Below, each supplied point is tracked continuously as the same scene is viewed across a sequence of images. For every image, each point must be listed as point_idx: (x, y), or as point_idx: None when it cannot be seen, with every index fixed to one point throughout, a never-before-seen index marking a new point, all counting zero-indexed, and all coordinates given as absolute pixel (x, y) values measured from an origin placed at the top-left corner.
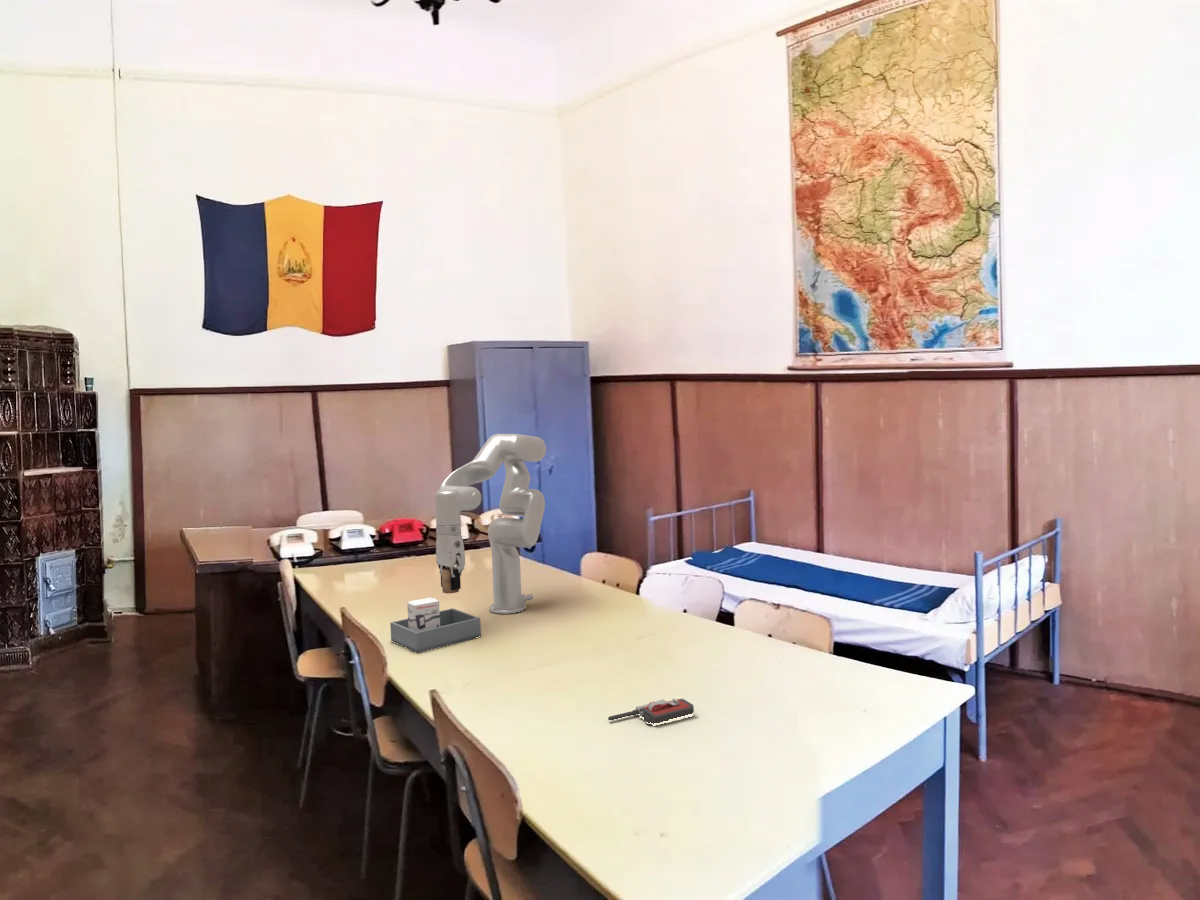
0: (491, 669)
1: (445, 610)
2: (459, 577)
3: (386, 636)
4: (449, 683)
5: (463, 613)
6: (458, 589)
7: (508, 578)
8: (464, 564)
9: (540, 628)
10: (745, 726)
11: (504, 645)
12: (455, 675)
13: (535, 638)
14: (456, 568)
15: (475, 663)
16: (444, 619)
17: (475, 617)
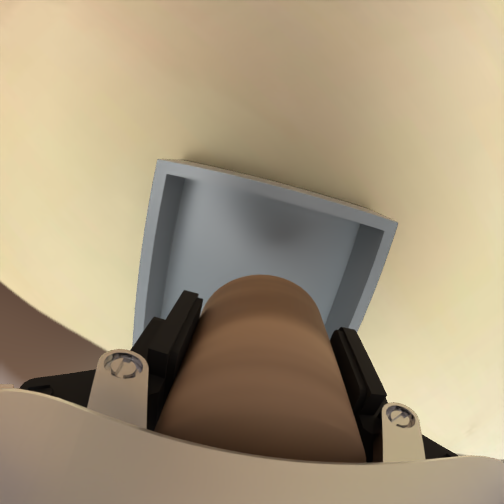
0: (491, 371)
1: (157, 208)
2: (377, 392)
3: (99, 344)
4: (446, 441)
5: (273, 198)
6: (319, 314)
7: None
8: (502, 474)
9: (458, 53)
10: None
11: (470, 241)
12: (444, 423)
13: (500, 147)
14: (317, 438)
15: (457, 372)
16: (170, 211)
17: (375, 227)
